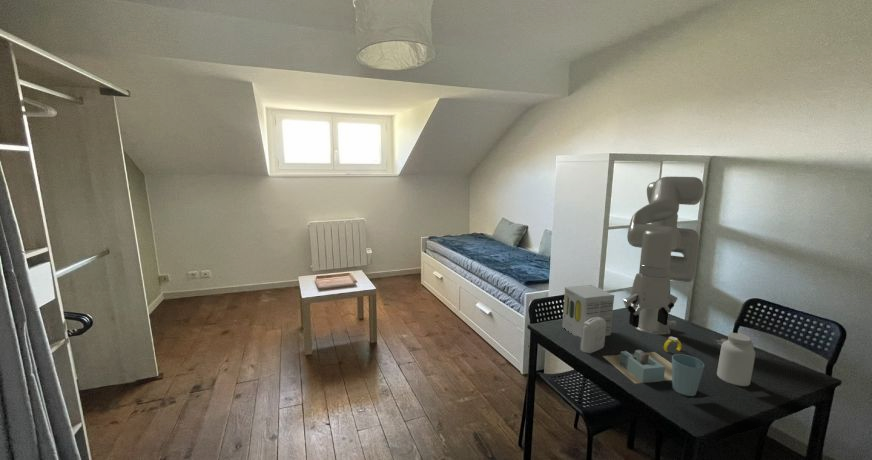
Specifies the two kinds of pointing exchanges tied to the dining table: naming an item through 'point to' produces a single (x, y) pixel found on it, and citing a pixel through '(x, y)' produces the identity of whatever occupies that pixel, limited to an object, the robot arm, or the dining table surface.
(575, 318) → the supplement box
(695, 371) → the cup
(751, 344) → the power adapter
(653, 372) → the u-shaped channel block
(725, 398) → the dining table surface
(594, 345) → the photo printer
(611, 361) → the board
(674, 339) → the watch
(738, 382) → the pill bottle
